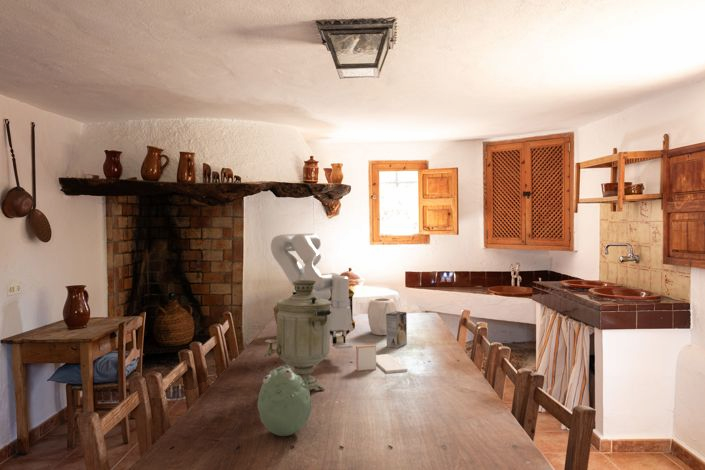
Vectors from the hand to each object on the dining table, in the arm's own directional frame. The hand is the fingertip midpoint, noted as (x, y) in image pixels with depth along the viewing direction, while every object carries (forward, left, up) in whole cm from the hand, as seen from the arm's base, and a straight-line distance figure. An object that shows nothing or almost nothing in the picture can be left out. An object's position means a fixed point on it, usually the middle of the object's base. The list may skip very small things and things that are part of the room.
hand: (338, 344), depth 231 cm
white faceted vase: (+35, +43, -7) cm, 56 cm away
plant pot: (-15, +53, -7) cm, 56 cm away
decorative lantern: (+14, +66, -7) cm, 68 cm away
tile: (+8, -17, -7) cm, 20 cm away
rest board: (+19, -12, -7) cm, 23 cm away
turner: (0, -1, 0) cm, 1 cm away
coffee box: (+34, +18, -7) cm, 39 cm away
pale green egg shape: (-33, -72, -7) cm, 80 cm away
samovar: (-24, -35, -7) cm, 43 cm away
